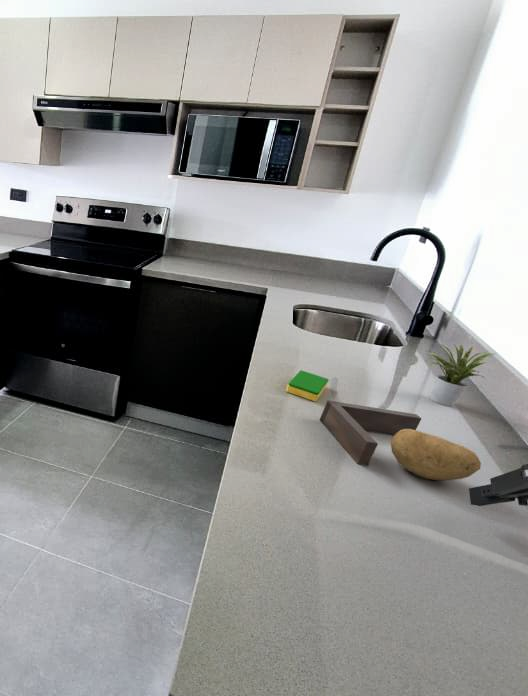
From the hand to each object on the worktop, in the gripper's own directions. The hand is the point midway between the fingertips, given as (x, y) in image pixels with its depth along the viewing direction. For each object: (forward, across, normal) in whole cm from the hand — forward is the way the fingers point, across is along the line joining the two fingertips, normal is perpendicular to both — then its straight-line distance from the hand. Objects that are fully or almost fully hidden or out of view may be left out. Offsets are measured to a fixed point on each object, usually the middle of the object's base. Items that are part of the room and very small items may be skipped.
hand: (474, 497), depth 83 cm
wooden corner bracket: (+17, +3, -12) cm, 21 cm away
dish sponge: (+36, +9, -31) cm, 49 cm away
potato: (+11, 0, -6) cm, 12 cm away
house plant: (+42, -31, -37) cm, 64 cm away
